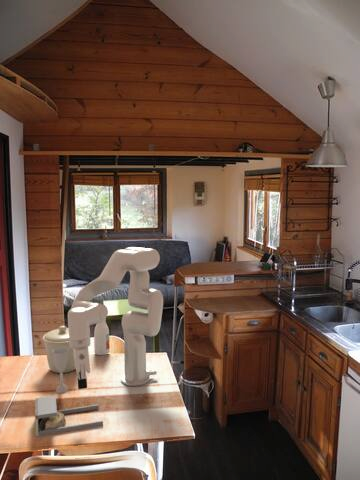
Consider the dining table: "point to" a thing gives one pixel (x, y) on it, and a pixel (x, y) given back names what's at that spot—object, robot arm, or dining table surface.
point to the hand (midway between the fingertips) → (82, 387)
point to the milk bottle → (101, 338)
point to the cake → (53, 422)
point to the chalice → (61, 365)
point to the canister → (58, 340)
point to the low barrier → (49, 408)
